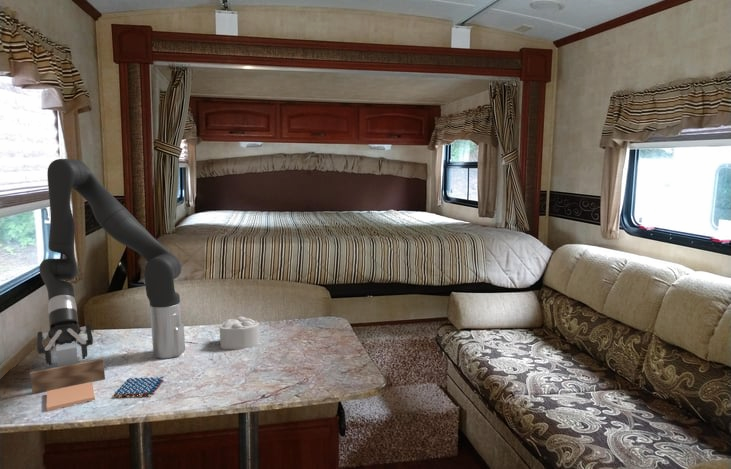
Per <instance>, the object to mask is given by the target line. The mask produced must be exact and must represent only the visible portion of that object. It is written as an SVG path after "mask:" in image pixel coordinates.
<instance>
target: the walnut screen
mask: <svg viewBox="0 0 731 469" xmlns="http://www.w3.org/2000/svg"><path fill="white" fill-rule="evenodd" d="M29 375H30V383H31V384H30V385H31V392H32V393H31V394H32V395H35V394H40V393H45V392H46V393H47V391H50V390H55V389H60V388H64V387H69V386H74V385H79V384H83V383H88V382H92V383H93V382H99V381H103V380H106V374H105V364H104V358H97V359H93V360H88V361H83V362H78V363H76V364H71V365H66V366H61V367H58V366H57V367H52V368H45V369H40V370H35V371H31V372H29Z"/></svg>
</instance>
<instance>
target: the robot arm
mask: <svg viewBox="0 0 731 469" xmlns="http://www.w3.org/2000/svg"><path fill="white" fill-rule="evenodd" d="M46 173H47V185H48V186H47V187H48V195H49V196H48V198H49V208H50V209H49V211H50V223H49V224H50V225H49V235H48V236H49V237H48V250H50V252H52V253H53V252H54V253H58V254H63V255H65V258H46V259H44V260H42V261H41V263H40V264H39V274H40V277H41V279H42V280H43V283H44V285H45V288H46V290H47V297H48V298H47V299H48V308H47V309H48V310H47V311H48V322H49V331H48V332H43V331H38V332H37V335H36V336H37V339H36V341H37V342H36V343H37V344H36V347H37V348H36V349H37V353H38V354H44V356H45V359H44V360H45V364H47V365H48V366H51V365H53V364H52V351H53V349H56V345H62V344H68V343H74V342H76V345H79V346H80V347H81V357H82V360H85V359H86V357H88V346H92V345H93V344H94V338H93V332H92V328H91V324H90V323H88V324H86V325H85V326H80V325H79V319H78V308H77V303H76V300H75V291H74V286H73V284H72V282H69V281H71V280H74V279H75V278H76V277H77V276H78V272H79V269H78V265H77V264H78V263H77V260H76V255H75V239H76V238H75V237H76V223H75V219H74V215H73V212H72V208H71V194H72V191H73V189H74V190H75V191H76V192H77V193H78V194H79V195H80V196H82V198H84V200H85V201H86V202H87V203H88V205H89V207H90V209H91V212H92V213H93V216H94V218H95V220H96V221H97V223H98V225H99V226H100V227H101V228H102V229H103V230H104V231H105V232H106V233H107V234H108V235H109V236H110V237H111V238H112V239H114V240H115V241H116V242H118V243H120V244H122V245H124V246H125V247H128V248H129V249H131V250H133V251H135V252H137V253H138V255H140V256H141V258H143V259H144V260H145V261H146V264H145V266H144V268H143V269H144V270H143V271H144V272H143V273H144V274H143V275H144V285H145V293H146V297H147V299H148V301H149V311H150V312H149V313H150V325H151V337H152V352H153V357H154V358H156V359H170V358H176V357H180V356H181V355H182V354H183V353H184V351H185V350H186V339H185V337H186V336H185V325H184V322H182V315H181V314H182V313H181V302H180V301H181V300H180V298H181V297H180V294H179V292H176V289H175V279H177V278H178V277H179V276H180V275H181V273H182V263H181V261H180V260H179V258H177V256H176V255H175V254H174V253H172V252H171V251H170V250H169V249H168V248H167V247H166V246H164V245H163V244H161V242H159V241H158V240H157V239H156V238H155V237H154V236H153V235H152V234H151V233H150V232H149V231H148V230H147V229H146V227H144V226H143V225H142V224H141V223H140V222H139V221H138V219H136V218H135V216H134V215H132V214H131V212H130V211H129V210H128V209H127V208H126V207H125V206H124V205H123V204H122V203H120V202H119V200H118V199H117V198H116V197H115V196H113V194H112V193H110V191H108V190H107V189H106V188H105V187H104V185H103V184H102V183H101V181H100V180H98V178H97V177H96V175H95V174H94V173H93V172H92V171H91V169H90V168H89V167H88V165H86V164H85V163H84V162H83V161H81V160H79V159H76V158H58V159H55V160H52V161H51V162H50V163H49V165H48V167H47V172H46ZM81 332H83V334H86V337H87V338H86V339H87V340H85V339H83V338H82V336H80V334H81ZM47 338H49V339H50V340H49V342H48V343H47V345H46V346H45V347H44V341H46V340H47Z"/></svg>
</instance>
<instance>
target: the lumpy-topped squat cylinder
mask: <svg viewBox="0 0 731 469" xmlns="http://www.w3.org/2000/svg"><path fill="white" fill-rule="evenodd" d="M219 338H220V339H219V340H220V341H219V342H220V349H224V350H242V349H243V350H244V349H248V348H253V347H257V346H258V345H259V344H261V343H260V341H261V339H260V323H259V322H258V321H257V320H253V319H251V318H250V317H249V318H247V317H245V316H238V317H236V318H228V319H226V320H225V321H223V322H222V324H221V325H220V326H219Z"/></svg>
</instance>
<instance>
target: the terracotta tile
mask: <svg viewBox="0 0 731 469" xmlns="http://www.w3.org/2000/svg"><path fill="white" fill-rule="evenodd" d="M94 391H95V390H94V385H93V382H88V383H83V384H79V385H74V386H69V387H64V388H60V389H55V390H50V391H46V412H49V411H54V410H59V409H58V408H60V409H63V408H62V407H64V408H67V407H66V406H69V407H71V406H70V405H73V406H75V405H74V404H77V405H80V404H79V403H82V404H84V403H83V402H86V403H88V402H87V401H91V402H93V401H92V400H95V401H96V398H95V397H96V395H95V392H94Z"/></svg>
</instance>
